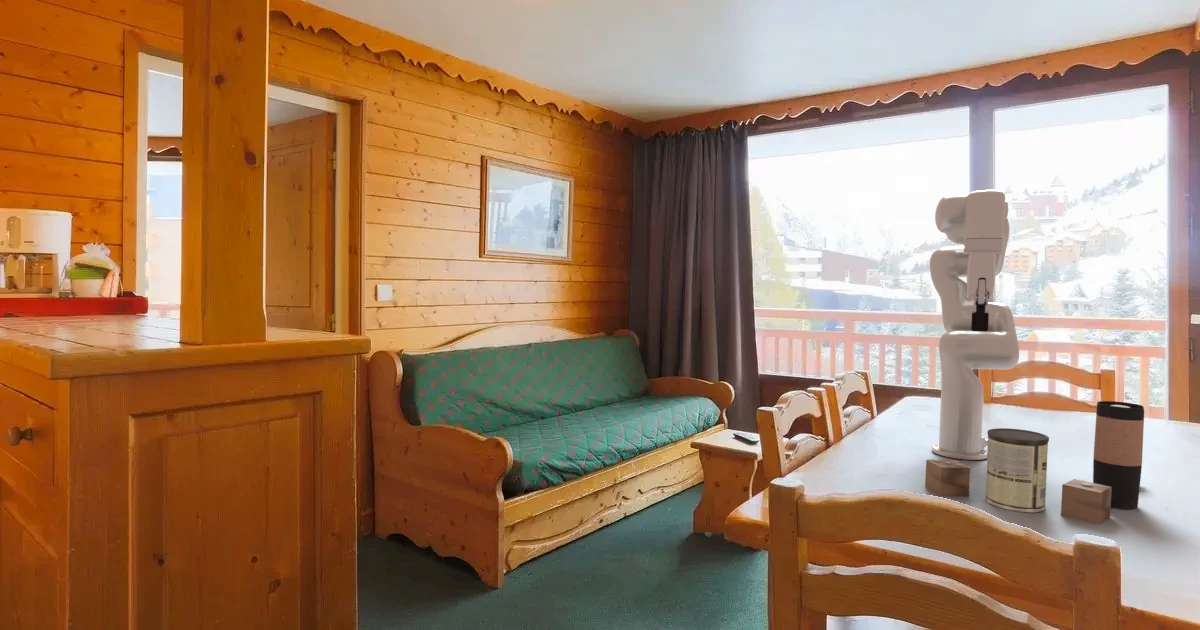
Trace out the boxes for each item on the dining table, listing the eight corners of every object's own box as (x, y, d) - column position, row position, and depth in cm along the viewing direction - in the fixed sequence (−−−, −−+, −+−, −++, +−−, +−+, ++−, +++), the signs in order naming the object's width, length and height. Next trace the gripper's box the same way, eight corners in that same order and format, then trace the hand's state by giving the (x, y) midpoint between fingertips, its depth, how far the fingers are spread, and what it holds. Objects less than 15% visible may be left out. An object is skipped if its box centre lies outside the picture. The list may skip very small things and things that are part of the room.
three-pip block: (952, 487, 144) (954, 458, 144) (968, 496, 138) (970, 466, 138) (925, 487, 144) (926, 458, 144) (940, 496, 138) (941, 466, 138)
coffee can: (982, 492, 140) (985, 425, 139) (1040, 500, 136) (1044, 431, 135) (987, 507, 131) (990, 436, 130) (1050, 516, 127) (1053, 442, 126)
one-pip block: (1072, 509, 131) (1074, 478, 131) (1109, 518, 126) (1111, 485, 126) (1060, 515, 127) (1062, 483, 127) (1098, 525, 123) (1100, 491, 122)
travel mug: (1081, 497, 138) (1086, 401, 137) (1116, 497, 138) (1121, 400, 137) (1113, 510, 130) (1118, 408, 129) (1149, 510, 131) (1155, 408, 130)
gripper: (963, 249, 156) (960, 328, 157) (963, 246, 143) (959, 332, 144) (1001, 249, 152) (997, 329, 153) (1004, 245, 139) (1000, 334, 140)
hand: (979, 330), depth 149 cm, fingers closed
